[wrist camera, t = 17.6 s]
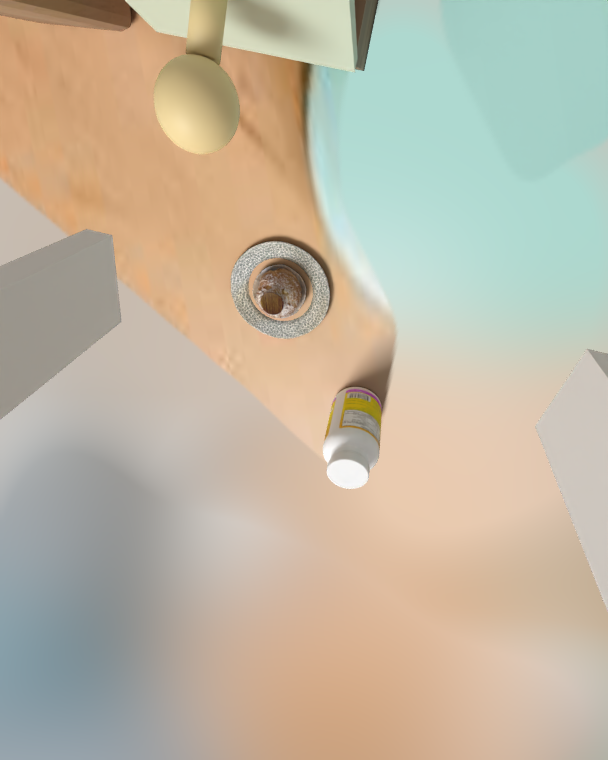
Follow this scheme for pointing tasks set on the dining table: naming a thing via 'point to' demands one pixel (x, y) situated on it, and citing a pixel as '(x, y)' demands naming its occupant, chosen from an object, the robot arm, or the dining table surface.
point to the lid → (243, 31)
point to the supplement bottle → (352, 437)
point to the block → (71, 12)
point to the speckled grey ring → (279, 290)
